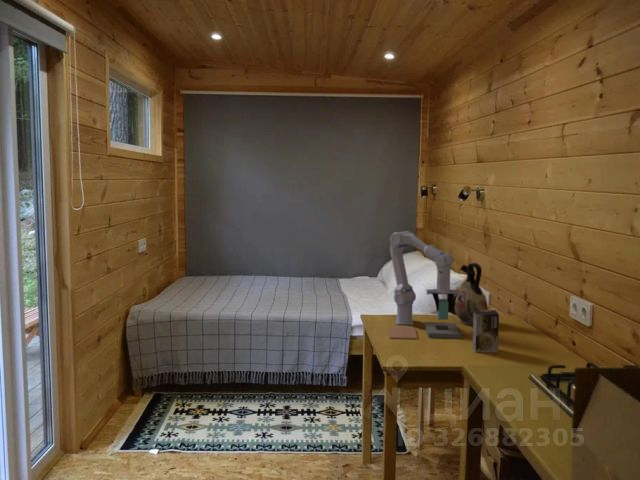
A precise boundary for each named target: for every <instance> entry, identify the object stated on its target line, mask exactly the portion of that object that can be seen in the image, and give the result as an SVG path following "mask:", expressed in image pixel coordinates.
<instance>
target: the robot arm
mask: <svg viewBox="0 0 640 480" xmlns="http://www.w3.org/2000/svg"><path fill="white" fill-rule="evenodd" d="M389 242H390V243H389V244H390V245H389V246H390V247H389V252H390V256H391V262H392V266H393V267H392V268H393V272H394V277H395V282H396V287H395V289H394V290H393V292H394V295H393V296H394V302H395V304H396V306H397V307H396V309H397V311H396V318H395V324H396V325H403V326H404V325H407V326H408V325H409V326H410V325H414V320H413V305H414V302H415V301H416V298H417V296H416V292H415V291H414V289H413V286H412V285H411V284H409V279H408V275H407V271H406V269H407V268H406V265H405V260H404V255H403V251H404V250H405V248H406V247H407V246H409V245H411V246H413V247H415V248H416V249H418V250H419V251H421V252H423V255H424V256H425V257H426V258H428V259H430V261H433V262H434V264H435V266H436V288H432V289H428V288H427V289H426V295H432V297H433V300H434V303H435V307H436V309H435V310H436V312H437V311H438V309H439V306H438V302H439V299H440V296H439V295H446V299H447V301H448V312H450V308H451V305H452V303H453V300H454V299H455V295H456V296H457V295H460V290H461V289H450V288H451V267H452V265H453V263H454V257H453V256H452V254H450V253H448V252H446V253H445V252H444V251H443V250H440V249H439V248H437V247H436V245H435V244H434V245H433V244H429V245H428V244H426V243H425V242H424V241H422V240H421V239H419V238H418V237H417V236H415V234H414V233H413V232H411V231H409V230H405V231H395V232H393V233H392V234H391V235H390V237H389Z"/></svg>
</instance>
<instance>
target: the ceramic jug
mask: <svg viewBox="0 0 640 480" xmlns="http://www.w3.org/2000/svg"><path fill="white" fill-rule="evenodd" d="M475 270H476V271H475ZM460 271H462V272H464V273H465V274H466V275H467V278H466V281H465V283H464V284H463V285H462V286H461V287H460V289H459V290H460V295H456V298H455V301H454V312H455V315H456V316H457V317H458V319H459V321H460V322H461V324H463V325H469V326H473V315H474V310H489V309H488V302H487V301H488V300H487V298H486V295H485V293H484V292H483V290H482V289H481V287H480V282H481V277H482V267H481V265H480V264H478V263H477V262H470V263H468V265H466V264H463V265H462V266H461V267H460Z"/></svg>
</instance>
